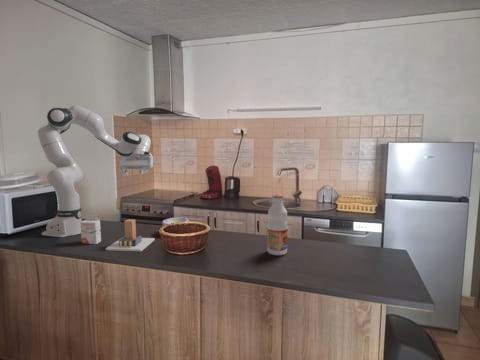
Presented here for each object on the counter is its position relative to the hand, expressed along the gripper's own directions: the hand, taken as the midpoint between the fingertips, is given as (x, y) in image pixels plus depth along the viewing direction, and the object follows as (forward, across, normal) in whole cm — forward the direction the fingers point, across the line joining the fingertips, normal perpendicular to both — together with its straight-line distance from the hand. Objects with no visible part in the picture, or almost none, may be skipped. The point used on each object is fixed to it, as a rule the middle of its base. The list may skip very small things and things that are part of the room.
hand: (133, 173), depth 185 cm
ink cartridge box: (+42, -13, +7) cm, 45 cm away
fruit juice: (+47, +85, +2) cm, 97 cm away
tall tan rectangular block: (+43, +10, +4) cm, 44 cm away
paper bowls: (+28, +27, +21) cm, 44 cm away
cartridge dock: (+44, +10, +5) cm, 45 cm away
